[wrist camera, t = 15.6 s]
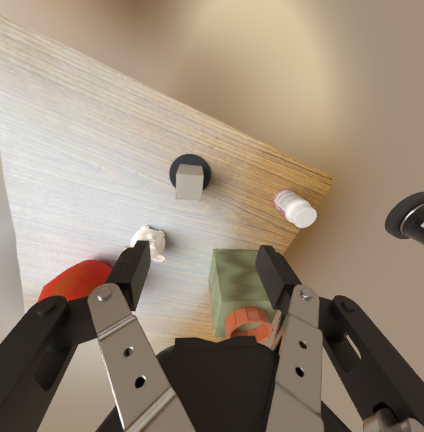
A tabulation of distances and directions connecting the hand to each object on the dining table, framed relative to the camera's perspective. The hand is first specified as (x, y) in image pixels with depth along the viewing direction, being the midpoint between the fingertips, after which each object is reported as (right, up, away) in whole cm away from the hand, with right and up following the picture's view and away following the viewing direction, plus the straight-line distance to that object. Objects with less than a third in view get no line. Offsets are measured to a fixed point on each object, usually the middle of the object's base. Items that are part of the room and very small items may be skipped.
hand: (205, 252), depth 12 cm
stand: (+6, -10, +32) cm, 34 cm away
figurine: (-13, -2, +26) cm, 29 cm away
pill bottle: (+16, +6, +24) cm, 30 cm away
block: (-4, +10, +19) cm, 22 cm away
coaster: (-4, +10, +20) cm, 23 cm away
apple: (-26, -9, +28) cm, 40 cm away
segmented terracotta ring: (+7, -17, +20) cm, 27 cm away
